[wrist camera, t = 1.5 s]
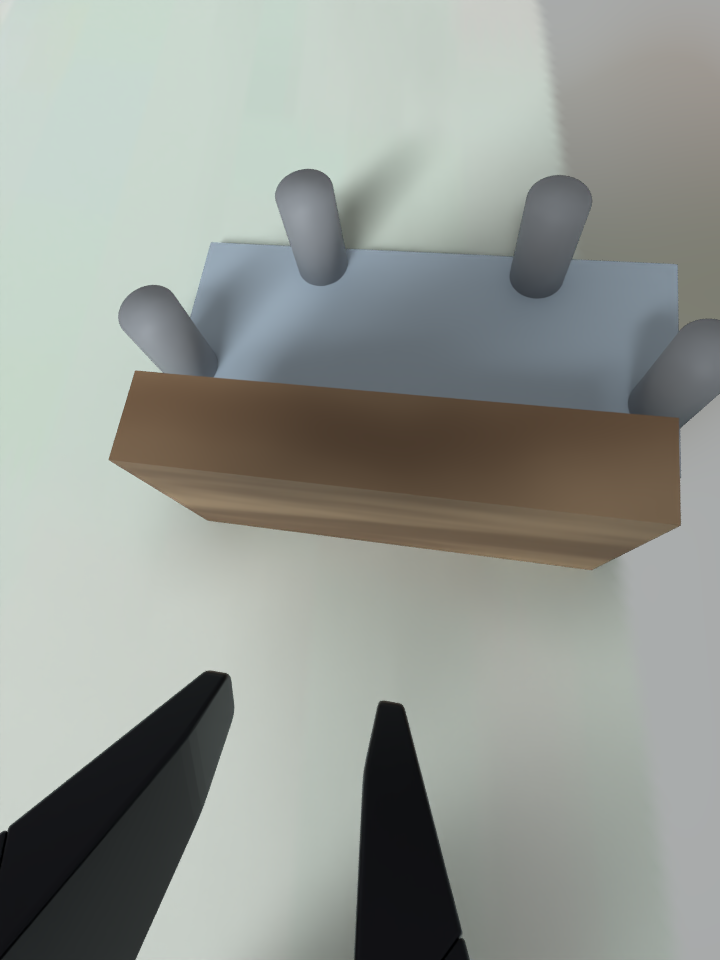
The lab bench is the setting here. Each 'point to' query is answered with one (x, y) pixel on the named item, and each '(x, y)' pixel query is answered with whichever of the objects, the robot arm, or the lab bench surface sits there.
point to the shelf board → (406, 467)
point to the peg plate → (438, 316)
